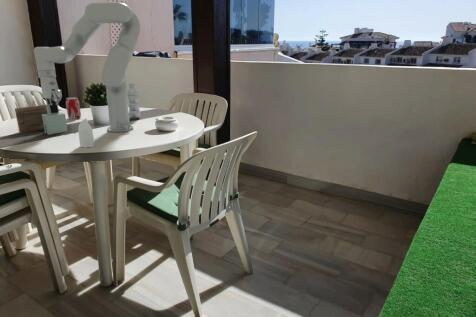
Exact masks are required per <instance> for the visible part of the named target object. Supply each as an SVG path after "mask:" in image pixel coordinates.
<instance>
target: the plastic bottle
mask: <svg viewBox="0 0 476 317" xmlns="http://www.w3.org/2000/svg"><path fill="white" fill-rule="evenodd" d="M136 86H137V85H136V83H128V90H127V101H128V112H129V119H134V120H135V119H138V118H140V117H141V111H140V106H139V90H138V89H137V88H136Z"/></svg>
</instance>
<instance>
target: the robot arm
mask: <svg viewBox="0 0 476 317" xmlns="http://www.w3.org/2000/svg"><path fill="white" fill-rule="evenodd" d="M104 24H120V25H121V29H120V31H119V33H118V38H117V40H116V43H115V44H114V45H113V46H112V47H111V48H110V50H108V53H107V57H106V60H105V61H104V62H105V63H104V64H103V65H104V66H103V68H102V71H101V75H100V76H101V77H100V79H101V82H102V84H103V85H105V89H106V99H107V100H106V101H107V109H108V110H107V111H108V117H109V119H108V120H109V126H108V127H107V132H111V133H124V132H128V131H129V132H130V131H132V130H134V126H133V125H132V124H130V117H129V101H128V95H127V92H128V90H127V76H126V72H127V69H128V65H129V64H130V63H131V62H132V59H133V56H134V55H133V54H134V51H135V49H136V46H137V43H138V39H139V37H140V31H141V25H140V20H139V17H138V16H137V14H136V13H135V11H134V10H133V9H132V8H131V7H130V6H129V5H127V4H125V3H123V2H90V3H88V4H87V5H86V6H85V7H84V13H83V14H82V16H81V17H80V18H79V19H78V20H77V21H76V23H74V24H73V26H72V27H71V33H70V35H69V36H68V38H67V39H66V40H65V41H64V42H63V43H62V45H60V46H59V45H58V46H51V47H50V46H36V47H34V49H33V54H34V59H35V60H34V61H35V64H36V71H37V77H38V78H39V80H40V88H41V93H42V97H44V99H45V103H46V104H45V105H47V104H51V105H50V109H51V113H58V109H59V106H58V107H57V98H59V97H60V95H59V90H58V89H59V86H58V82H57V79H56V78H57V74H56V67H55V64H66V63H69V62H71V61H72V60H73V59H74V58H75V57H76V56H77V55H78V54H79V53H80V52H81V51H82V49H83V48H84V47H85V45H87V43H88V42H89V41H90V39H91V38H93V36H94V35H95V33H97V32H98V31H99V30H100V29H101V27H102V26H103V25H104ZM52 97H53V98H52Z"/></svg>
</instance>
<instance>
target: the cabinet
mask: <svg viewBox="0 0 476 317" xmlns="http://www.w3.org/2000/svg"><path fill="white" fill-rule="evenodd" d="M45 105H46V108H47V114H45V115H42V118H43V124H44V129H43V130H44V133H45V134H47V135H54V134H55V135H56V134H59V133H60V134H61V133H66V132H68V125H67V118H66V113H65V112H64V113H63V112H61V111H59V103H58V104H57V107H58V113H51V109H50V105H51V104H45Z"/></svg>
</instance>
